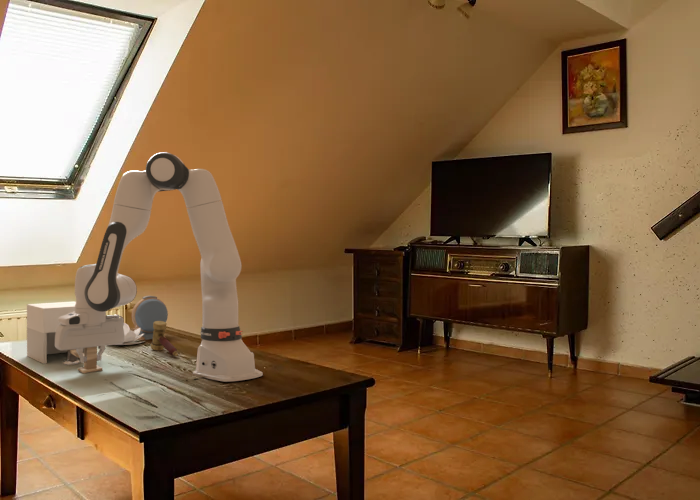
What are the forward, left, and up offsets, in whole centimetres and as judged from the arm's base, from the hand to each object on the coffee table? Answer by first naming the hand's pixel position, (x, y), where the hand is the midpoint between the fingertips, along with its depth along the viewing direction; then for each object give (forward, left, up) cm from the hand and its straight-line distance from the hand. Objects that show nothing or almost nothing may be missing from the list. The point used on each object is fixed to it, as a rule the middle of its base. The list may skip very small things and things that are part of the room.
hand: (90, 361), depth 196 cm
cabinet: (+31, -1, -3) cm, 31 cm away
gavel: (+14, -31, -5) cm, 35 cm away
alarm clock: (+48, -41, -3) cm, 63 cm away
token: (+17, 0, -3) cm, 17 cm away
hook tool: (+1, 0, -3) cm, 3 cm away
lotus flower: (+40, -28, -3) cm, 49 cm away
